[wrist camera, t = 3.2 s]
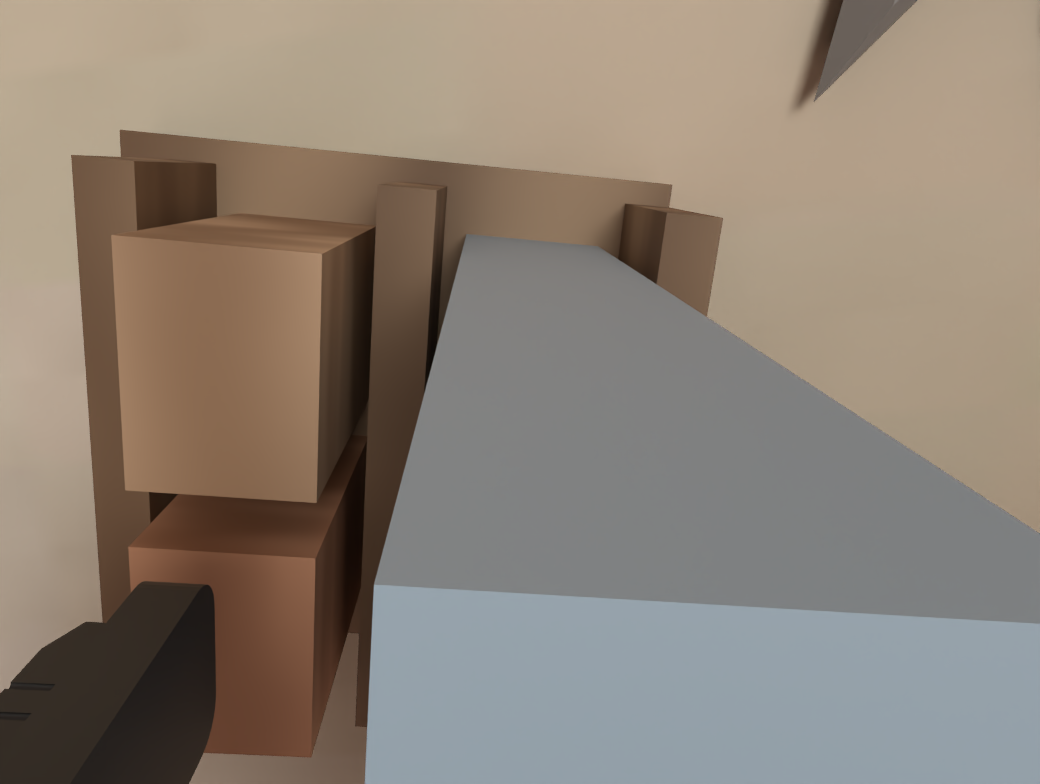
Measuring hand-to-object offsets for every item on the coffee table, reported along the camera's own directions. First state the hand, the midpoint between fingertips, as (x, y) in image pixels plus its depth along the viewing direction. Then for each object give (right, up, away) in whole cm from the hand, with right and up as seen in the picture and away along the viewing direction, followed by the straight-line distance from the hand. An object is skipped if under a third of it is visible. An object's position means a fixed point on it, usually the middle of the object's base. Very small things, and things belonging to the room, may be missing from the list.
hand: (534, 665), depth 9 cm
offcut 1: (-5, +5, +8) cm, 11 cm away
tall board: (0, +3, +9) cm, 9 cm away
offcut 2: (-5, +1, +9) cm, 11 cm away
